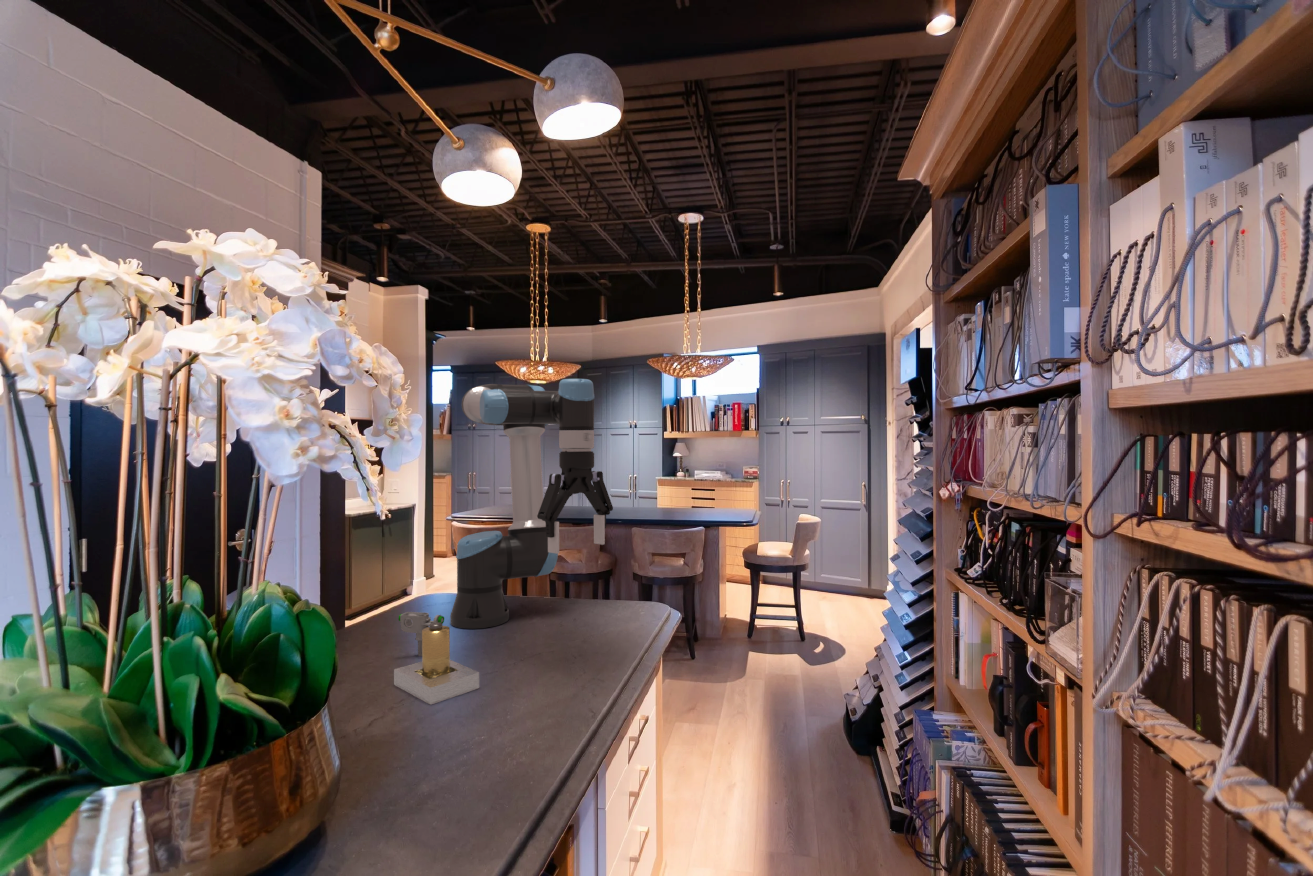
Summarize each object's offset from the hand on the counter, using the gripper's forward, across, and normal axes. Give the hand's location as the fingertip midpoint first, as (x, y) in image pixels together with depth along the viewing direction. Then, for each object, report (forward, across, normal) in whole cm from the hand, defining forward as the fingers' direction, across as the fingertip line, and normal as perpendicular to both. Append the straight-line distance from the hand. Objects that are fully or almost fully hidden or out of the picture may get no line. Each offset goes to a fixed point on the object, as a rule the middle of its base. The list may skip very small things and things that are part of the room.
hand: (577, 548), depth 137 cm
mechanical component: (+25, -20, +29) cm, 43 cm away
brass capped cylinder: (+24, -28, +10) cm, 38 cm away
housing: (+25, -28, +10) cm, 39 cm away
